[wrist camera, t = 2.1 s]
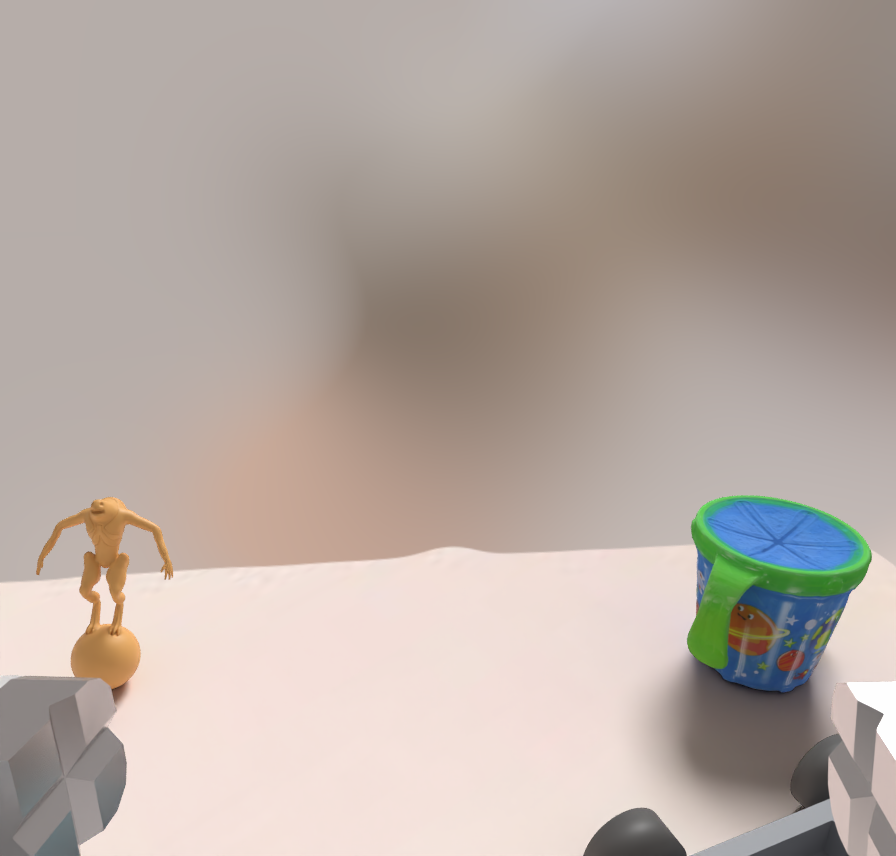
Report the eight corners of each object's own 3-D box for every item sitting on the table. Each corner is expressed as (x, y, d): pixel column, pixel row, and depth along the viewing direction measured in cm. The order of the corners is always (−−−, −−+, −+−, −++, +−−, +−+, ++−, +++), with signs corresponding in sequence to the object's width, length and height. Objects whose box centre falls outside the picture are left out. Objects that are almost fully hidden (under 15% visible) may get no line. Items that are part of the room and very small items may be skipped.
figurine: (28, 702, 48) (-7, 528, 44) (72, 640, 54) (45, 480, 49) (165, 707, 48) (144, 534, 44) (195, 644, 54) (179, 485, 49)
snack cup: (750, 588, 63) (775, 471, 59) (884, 659, 55) (922, 531, 52) (617, 660, 54) (636, 529, 50) (753, 757, 46) (788, 610, 43)
